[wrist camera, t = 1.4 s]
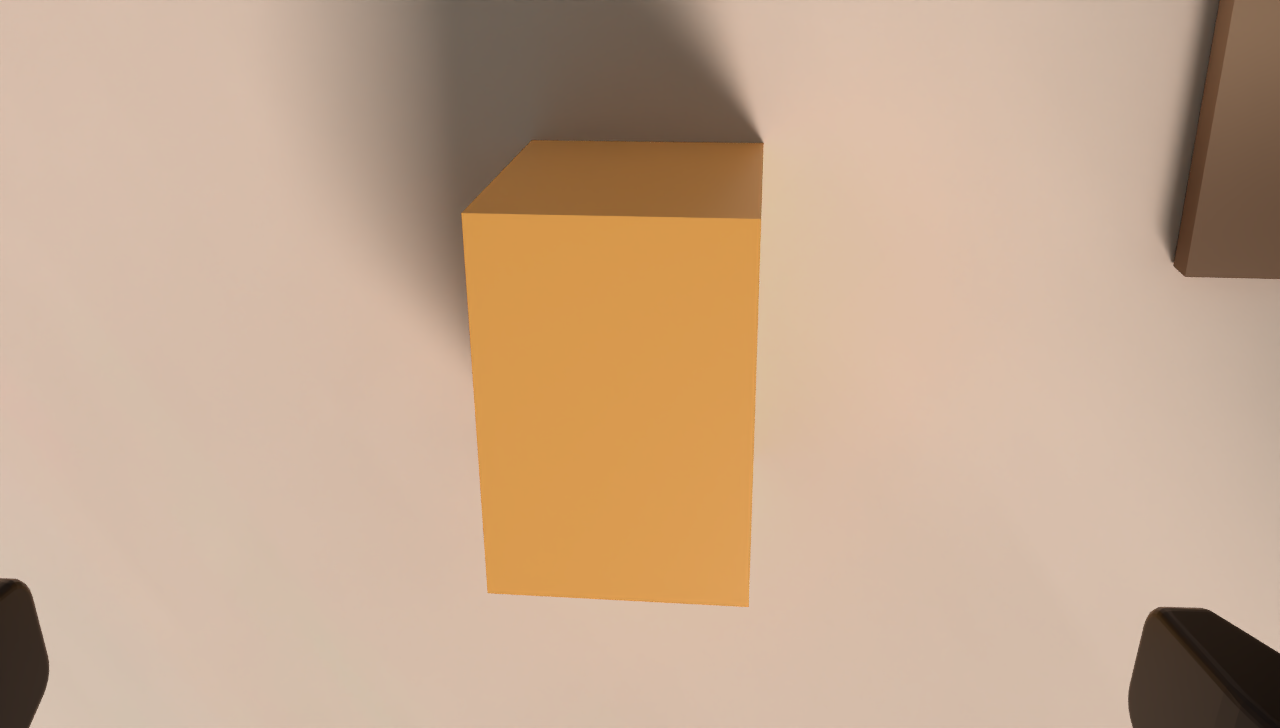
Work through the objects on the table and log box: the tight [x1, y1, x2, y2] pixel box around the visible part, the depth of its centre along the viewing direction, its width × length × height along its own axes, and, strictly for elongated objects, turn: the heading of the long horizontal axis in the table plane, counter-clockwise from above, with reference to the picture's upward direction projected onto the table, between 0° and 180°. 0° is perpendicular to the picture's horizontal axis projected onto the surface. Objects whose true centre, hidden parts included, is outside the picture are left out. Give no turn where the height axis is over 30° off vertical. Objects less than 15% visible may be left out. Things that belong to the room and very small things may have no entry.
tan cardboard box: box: [461, 140, 763, 607], centre depth 19 cm, size 6×4×5 cm, turn 1°
